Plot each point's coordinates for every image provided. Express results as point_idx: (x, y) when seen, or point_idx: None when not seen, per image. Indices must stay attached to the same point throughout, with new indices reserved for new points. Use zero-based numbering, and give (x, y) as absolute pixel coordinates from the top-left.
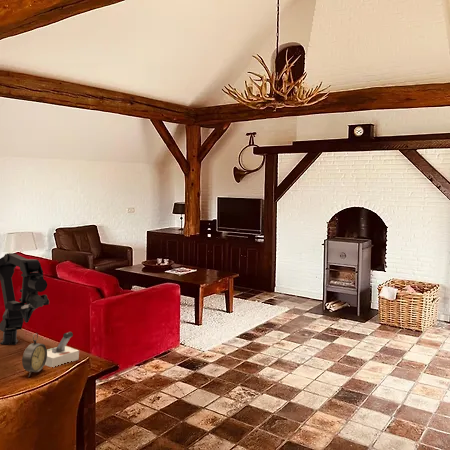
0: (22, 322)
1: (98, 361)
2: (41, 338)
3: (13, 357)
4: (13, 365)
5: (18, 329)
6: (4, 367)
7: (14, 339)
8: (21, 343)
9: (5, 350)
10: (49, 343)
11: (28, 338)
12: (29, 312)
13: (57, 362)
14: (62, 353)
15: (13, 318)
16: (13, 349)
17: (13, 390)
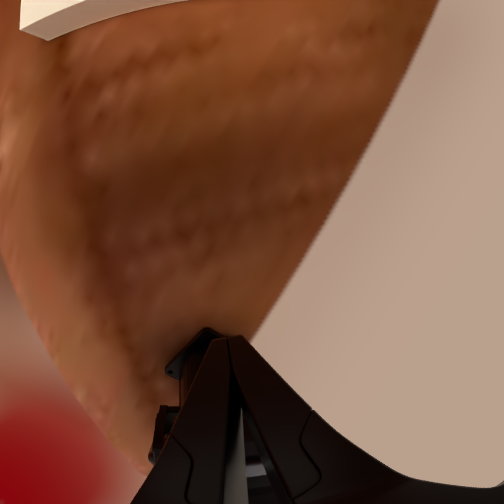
0: (168, 434)
1: None
2: (55, 346)
3: (322, 137)
4: (380, 35)
5: (179, 406)
6: (418, 48)
7: (201, 358)
8: (164, 332)
9: (290, 271)
10: (33, 262)
11: (110, 372)
12: (228, 494)
13: None
14: None
15: (254, 466)
16: (247, 266)
17: None
